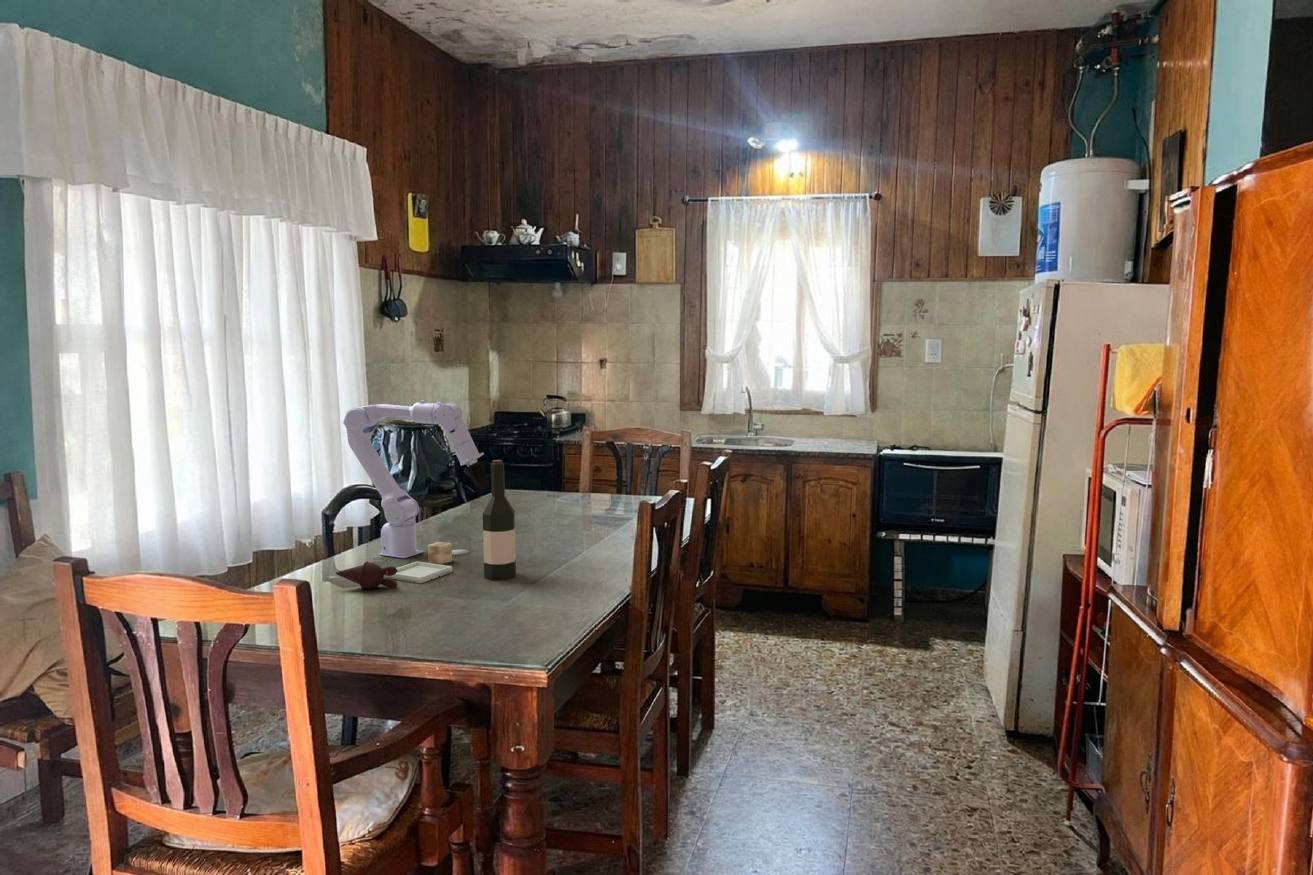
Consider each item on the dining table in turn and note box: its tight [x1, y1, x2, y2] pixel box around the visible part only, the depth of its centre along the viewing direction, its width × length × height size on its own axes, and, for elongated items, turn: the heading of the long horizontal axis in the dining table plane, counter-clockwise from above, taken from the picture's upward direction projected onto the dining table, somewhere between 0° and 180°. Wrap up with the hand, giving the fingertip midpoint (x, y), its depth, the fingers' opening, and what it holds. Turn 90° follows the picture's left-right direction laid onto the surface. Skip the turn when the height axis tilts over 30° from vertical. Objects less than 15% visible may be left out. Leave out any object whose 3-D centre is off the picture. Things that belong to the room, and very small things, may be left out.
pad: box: [452, 548, 470, 556], centre depth 246 cm, size 6×6×1 cm
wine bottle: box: [482, 459, 517, 582], centre depth 219 cm, size 8×8×30 cm
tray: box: [384, 560, 453, 584], centre depth 223 cm, size 12×12×2 cm
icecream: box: [335, 560, 398, 591], centre depth 210 cm, size 7×7×15 cm
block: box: [427, 541, 453, 565], centre depth 236 cm, size 4×4×5 cm
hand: (484, 488), depth 239 cm, fingers open, 7 cm apart
